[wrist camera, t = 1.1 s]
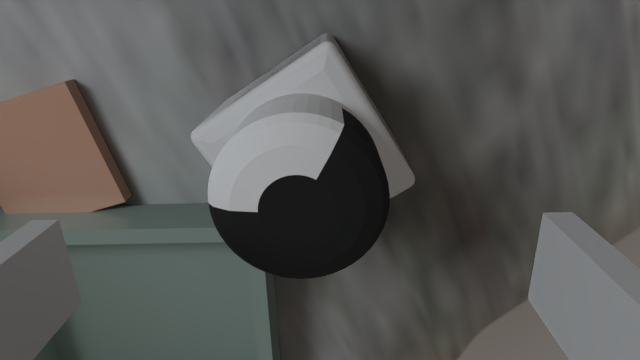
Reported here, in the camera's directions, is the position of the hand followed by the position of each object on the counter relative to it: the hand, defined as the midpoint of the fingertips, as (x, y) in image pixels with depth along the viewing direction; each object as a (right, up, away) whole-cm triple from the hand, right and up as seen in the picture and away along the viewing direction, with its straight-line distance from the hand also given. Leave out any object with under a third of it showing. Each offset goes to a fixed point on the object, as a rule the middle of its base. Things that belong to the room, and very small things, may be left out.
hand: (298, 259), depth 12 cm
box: (-12, -6, +20) cm, 24 cm away
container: (0, +6, +15) cm, 16 cm away
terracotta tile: (-17, +4, +16) cm, 24 cm away
